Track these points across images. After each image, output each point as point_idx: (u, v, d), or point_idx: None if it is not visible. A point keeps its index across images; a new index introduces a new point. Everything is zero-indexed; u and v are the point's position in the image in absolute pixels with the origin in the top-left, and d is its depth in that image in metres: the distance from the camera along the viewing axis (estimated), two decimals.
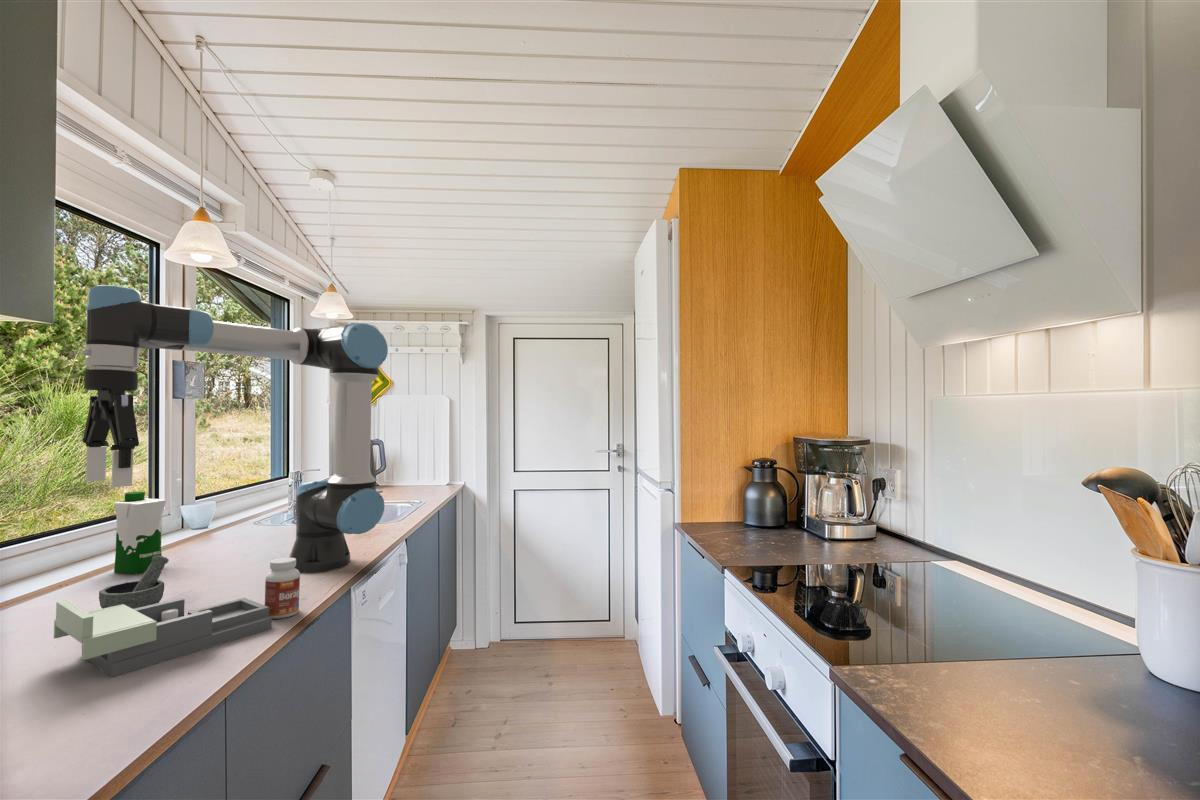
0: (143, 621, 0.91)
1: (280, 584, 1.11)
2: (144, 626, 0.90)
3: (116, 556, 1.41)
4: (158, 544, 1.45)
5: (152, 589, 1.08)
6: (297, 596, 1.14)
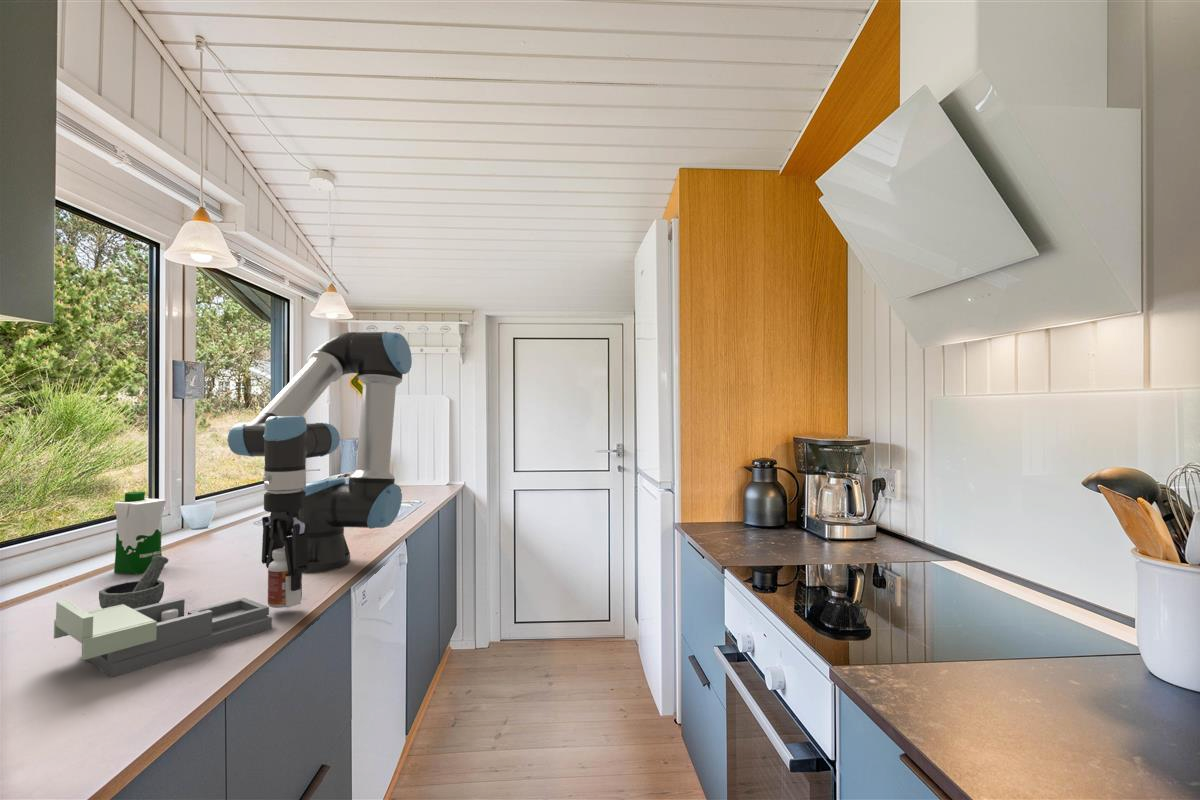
0: (143, 621, 0.91)
1: (282, 574, 1.12)
2: (144, 626, 0.90)
3: (116, 556, 1.41)
4: (158, 544, 1.45)
5: (152, 589, 1.08)
6: None
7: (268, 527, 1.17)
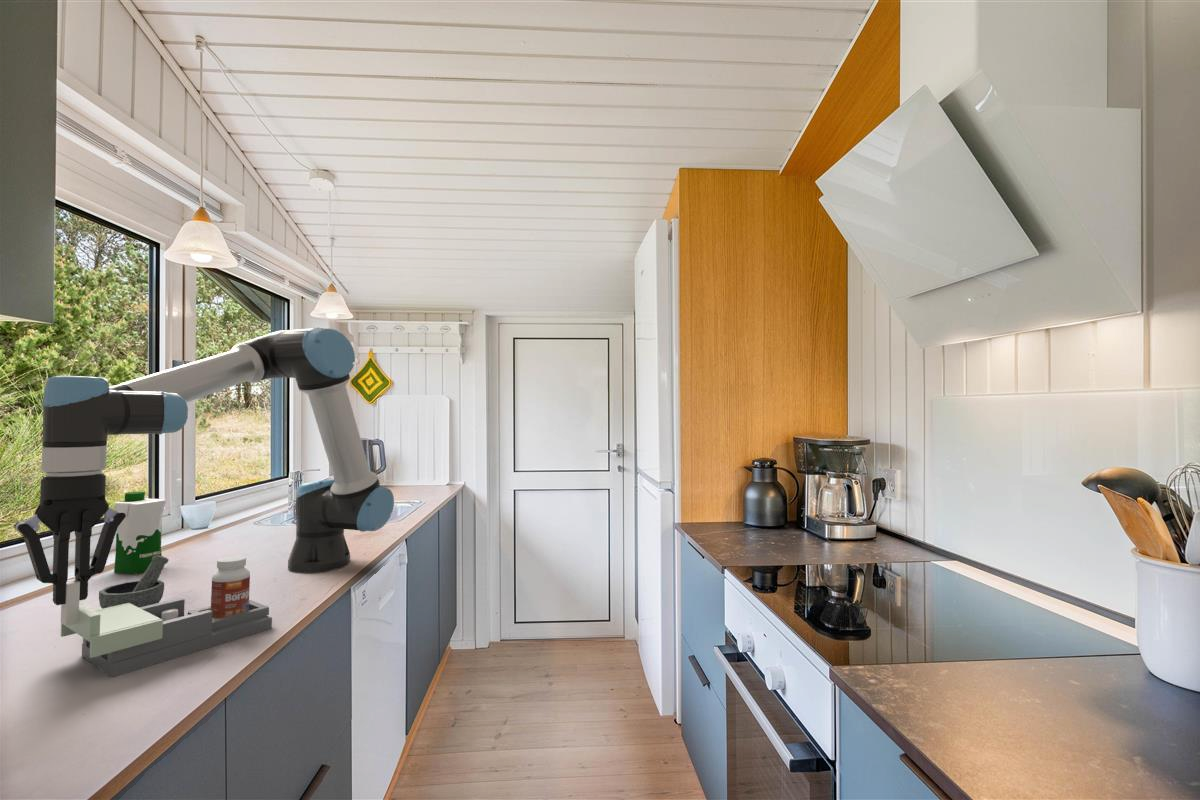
0: (149, 619, 0.92)
1: (226, 584, 1.04)
2: (150, 624, 0.90)
3: (116, 556, 1.41)
4: (158, 544, 1.45)
5: (152, 589, 1.08)
6: (246, 597, 1.07)
7: (105, 523, 0.92)
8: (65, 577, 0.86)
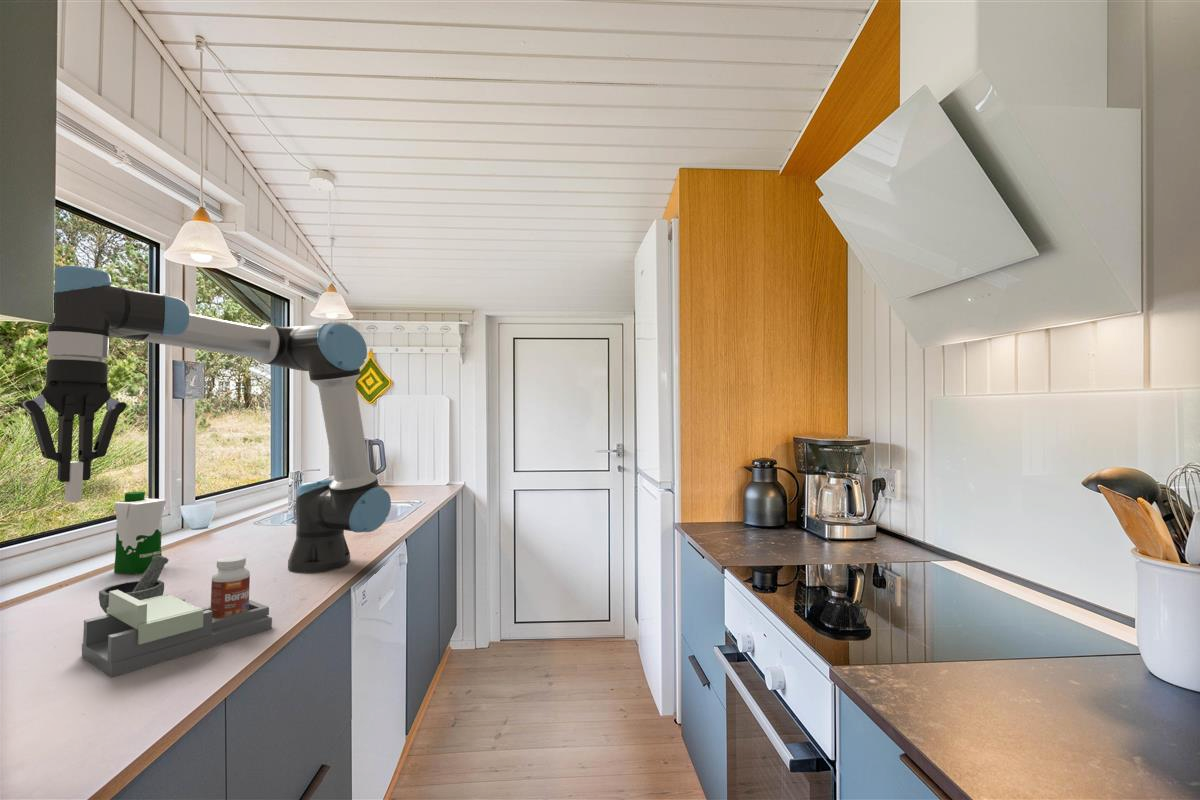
0: (191, 609, 0.97)
1: (225, 584, 1.04)
2: (192, 614, 0.95)
3: (116, 556, 1.41)
4: (158, 544, 1.45)
5: (152, 589, 1.08)
6: (246, 597, 1.07)
7: (107, 412, 0.97)
8: (69, 456, 0.91)
